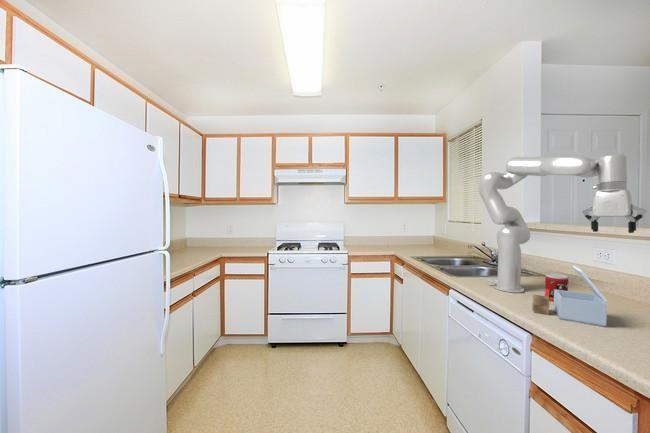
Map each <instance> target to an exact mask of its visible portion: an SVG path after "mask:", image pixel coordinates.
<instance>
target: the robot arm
mask: <svg viewBox="0 0 650 433" xmlns="http://www.w3.org/2000/svg"><path fill="white" fill-rule="evenodd" d="M505 170H506V171H504V172H496V171H494V172H493V171H492V172H487V173H485V174H484V175H483V176H482V177H481V178H480V180H479V182H478V192H479V195H480V197H481V200H482V202H483V203H484V206H485V208H486V209H487V213H488V215H489V216H490V219H491V221H492V223H493V224H495V225H499V226H502V227H501V228H500V229H499V230H498V231H497V233H496V242H497V277H496V278H489V277H488V278H487V279H486V282H487V283H489V284H493V288H494V289H495V290H498V291H501V292H508V293H514V294H515V293H518V294H519V293H524V292H525V288H523V287H522V286H521V279H522V278H521V276H522V274H521V271H522V249H521V245H523V244H527V243H528V242H529V240H530V238H531V231H530V230H529V229H530V228H529V227H528V226H527V223H526V221H525V220H524V217H523V216H522V214H521V212H520V211H519V210H518V209H517V208H515V207H513V206H508V205H507V204H506V202H505V200H504V198H503V196H502V195H501V193H500V192H499V191H498V190H507V189H509V188H512V187H513V186H514V185H517V184H518V183H519V182H520V181H522V180H523V179H525V178H526V177H528V176H535V177H537V176H538V177H547V176H550V175H554V176H555V175H556V176H557V175H559V176H573V177H574V176H575V177H581V178H592V177H598V178H597V182H598V183H597V184H596V185H593V187H592V188H593V189H594V190H597V191H595V192H594V195H593V201H592V207H591V206H590V207H588V208H586V209H583V210H582V211H581V213H582V214H583V216H584V217H585V218H586V220H588V221H589V222H590V228H591V230H592V232H593V233H597V232H599V222H598V220H599V219H600V218H603V217H604V218H614V217H615V218H617V217H619V218H623V217H624V218H626V219H628V221H629V222H628V223H627V225H628V226H627V227H628V230H627V231H628V233H630V234H634V233H635V232H636V230H637V222H638V221H640V220H641V219H642V218H644V216H645V215H646V214H647V213H648V209H646V208H643V207H641V206H636V205H633V199H632V194H631V191H630V190H629V189H628V171H627V170H628V162H627V156H626V154H624V153H616V154H615V153H614V154H606V155H603V156H601V157H599V158H590V157H585V156H516V157H515V156H514V157H511V158H509V159H508V160H507V161H506V163H505ZM634 211H638V212H639V213H638V214H637V215H636V216H634V215H633V214H634ZM589 212H592V215H593V216H592V215H591V214H590V213H589ZM503 225H504V226H503Z"/></svg>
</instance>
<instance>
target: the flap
mask: <svg viewBox="0 0 650 433" xmlns="http://www.w3.org/2000/svg"><path fill="white" fill-rule="evenodd" d="M571 267H572V268H573V270H574V271H575V272H576V273H577V275H579V277H580V279H582V280H583V282H584V283H585V284H586V285H587V287H588V288H589V289H590V290H591V292H593V293H592V294H595V295H597V296H598V297H599V298H600V299H602V300H603V301H604V302H605V303H607V302H608V299H606V297H605V296H604V295H603V294H602V292H601V291H600V290H599V289H598V288H597V286H595V284H594V283H593V282H592V281H591V280H590V278H589V277H588V276H587V274H586V273H585V272H584V271H583V270H582V269H581V268H579V267H577V266H576V265H571Z"/></svg>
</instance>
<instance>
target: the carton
mask: <svg viewBox="0 0 650 433" xmlns="http://www.w3.org/2000/svg"><path fill="white" fill-rule="evenodd" d="M553 310H554V313H556V315H557V317H558V318H559V320H561V321H568V322H574V323H578V322H579V324H586V325H590V326H597V327H602V328H607V317H608V315H607V313H608V303H607V302H604V301H603V300H602V299H601V298H599V297H598V296H597V295H596V294H594V293H586V292H578V291H577V292H576V291H572V290H571V291H569V290H568V291H563V290H556V289H554V302H553Z"/></svg>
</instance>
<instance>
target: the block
mask: <svg viewBox="0 0 650 433" xmlns="http://www.w3.org/2000/svg"><path fill="white" fill-rule="evenodd" d="M531 307H532V312H533V313H534V314H538V315H545V316H550V301H549V298H548V297H547V296H545V295H540V294H532V306H531Z"/></svg>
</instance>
